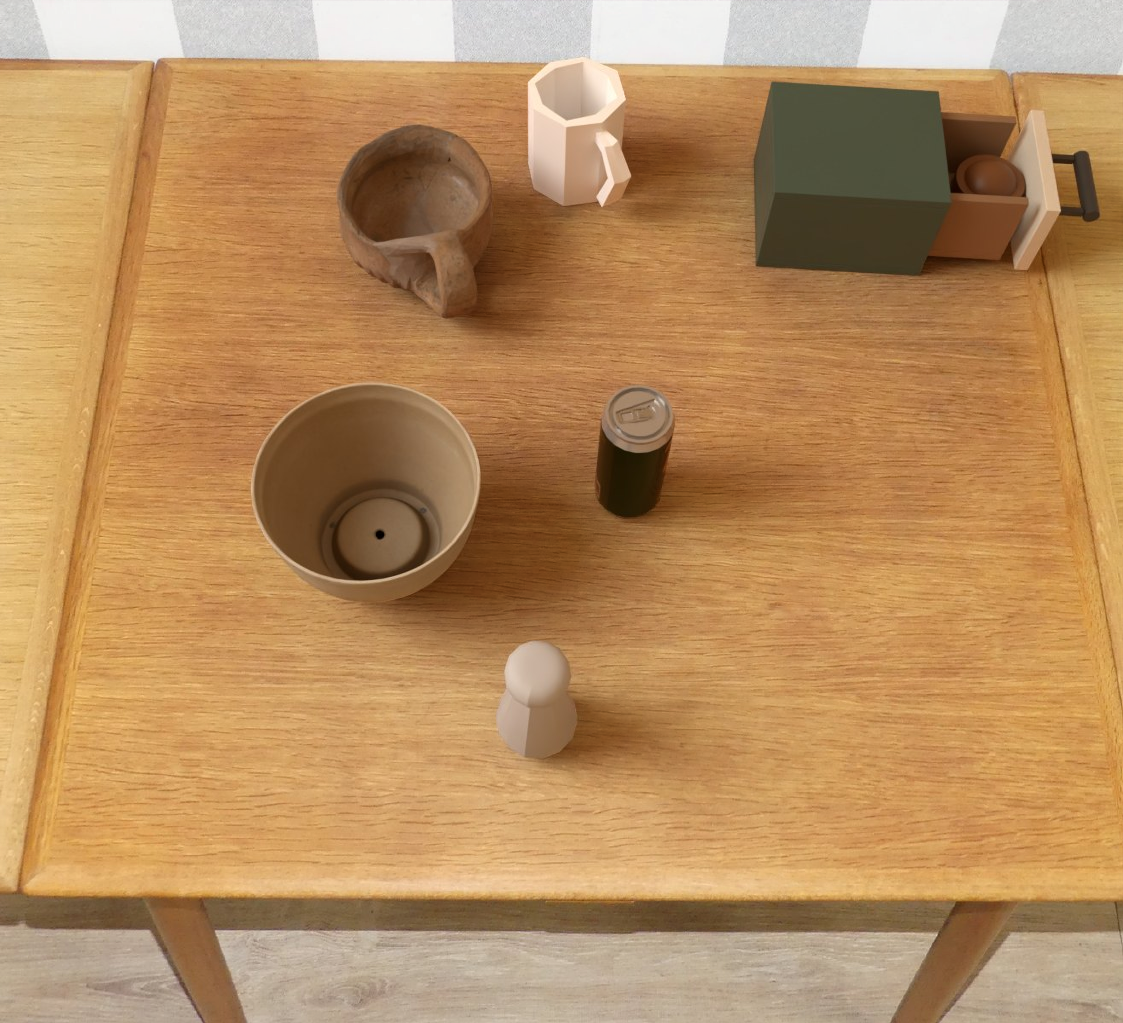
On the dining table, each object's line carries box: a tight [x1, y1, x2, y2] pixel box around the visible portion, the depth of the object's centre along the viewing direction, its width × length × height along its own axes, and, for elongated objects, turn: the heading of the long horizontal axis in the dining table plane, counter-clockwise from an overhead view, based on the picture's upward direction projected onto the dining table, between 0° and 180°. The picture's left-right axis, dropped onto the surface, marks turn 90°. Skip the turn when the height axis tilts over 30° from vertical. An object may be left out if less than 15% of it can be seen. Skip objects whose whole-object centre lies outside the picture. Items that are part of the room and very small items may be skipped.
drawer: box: [927, 109, 1101, 271], centre depth 108 cm, size 18×11×8 cm, turn 87°
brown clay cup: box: [336, 124, 494, 319], centre depth 105 cm, size 18×14×10 cm
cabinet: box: [753, 81, 952, 277], centre depth 108 cm, size 15×13×10 cm
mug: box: [527, 56, 632, 208], centre depth 109 cm, size 12×9×10 cm
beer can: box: [594, 384, 676, 519], centre depth 93 cm, size 5×5×12 cm
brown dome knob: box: [950, 155, 1025, 197], centre depth 108 cm, size 6×6×5 cm
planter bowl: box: [250, 381, 482, 604], centre depth 91 cm, size 16×16×11 cm
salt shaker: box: [495, 640, 579, 760], centre depth 83 cm, size 6×6×13 cm
